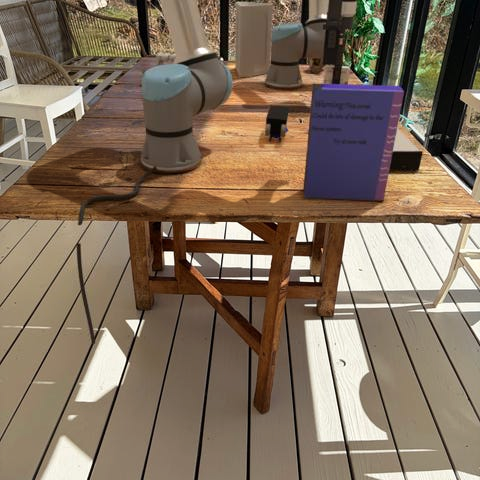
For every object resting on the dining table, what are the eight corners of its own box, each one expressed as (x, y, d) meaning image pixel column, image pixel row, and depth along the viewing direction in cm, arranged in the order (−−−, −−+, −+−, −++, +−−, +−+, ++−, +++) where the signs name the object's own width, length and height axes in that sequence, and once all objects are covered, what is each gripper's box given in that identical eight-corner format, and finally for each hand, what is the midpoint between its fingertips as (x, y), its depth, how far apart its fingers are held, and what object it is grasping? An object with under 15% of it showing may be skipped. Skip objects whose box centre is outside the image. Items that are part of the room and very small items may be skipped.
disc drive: (349, 170, 120) (352, 151, 117) (332, 140, 139) (334, 123, 137) (418, 171, 120) (423, 152, 118) (392, 140, 140) (395, 124, 137)
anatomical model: (315, 76, 229) (315, 76, 215) (302, 63, 228) (301, 62, 214) (334, 55, 225) (335, 53, 211) (321, 42, 224) (321, 39, 210)
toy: (175, 75, 210) (174, 58, 206) (151, 64, 228) (150, 49, 224) (222, 69, 222) (222, 53, 218) (195, 59, 239) (195, 45, 236)
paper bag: (273, 76, 210) (276, 6, 196) (239, 77, 209) (240, 6, 194) (266, 67, 226) (268, 2, 212) (235, 67, 225) (235, 1, 210)
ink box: (345, 99, 175) (349, 65, 169) (345, 102, 171) (350, 68, 165) (321, 97, 176) (325, 64, 170) (321, 101, 172) (325, 67, 166)
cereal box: (379, 191, 109) (398, 84, 97) (383, 201, 105) (404, 90, 93) (303, 188, 110) (312, 82, 98) (304, 197, 106) (314, 88, 94)
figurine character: (286, 149, 136) (289, 127, 148) (287, 124, 131) (290, 104, 143) (262, 148, 137) (267, 126, 149) (263, 123, 132) (268, 103, 144)
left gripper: (322, -58, 102) (313, 48, 113) (319, -61, 81) (309, 69, 92) (358, -58, 101) (345, 49, 112) (365, -61, 80) (349, 71, 91)
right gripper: (332, 11, 167) (324, 79, 179) (332, 18, 152) (324, 92, 164) (353, 12, 166) (345, 81, 178) (356, 19, 151) (346, 93, 163)
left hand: (329, 58), depth 102 cm, fingers open, 13 cm apart
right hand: (335, 86), depth 171 cm, fingers closed on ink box, 5 cm apart
